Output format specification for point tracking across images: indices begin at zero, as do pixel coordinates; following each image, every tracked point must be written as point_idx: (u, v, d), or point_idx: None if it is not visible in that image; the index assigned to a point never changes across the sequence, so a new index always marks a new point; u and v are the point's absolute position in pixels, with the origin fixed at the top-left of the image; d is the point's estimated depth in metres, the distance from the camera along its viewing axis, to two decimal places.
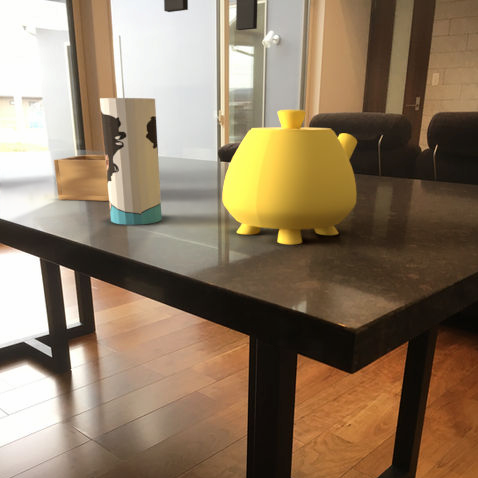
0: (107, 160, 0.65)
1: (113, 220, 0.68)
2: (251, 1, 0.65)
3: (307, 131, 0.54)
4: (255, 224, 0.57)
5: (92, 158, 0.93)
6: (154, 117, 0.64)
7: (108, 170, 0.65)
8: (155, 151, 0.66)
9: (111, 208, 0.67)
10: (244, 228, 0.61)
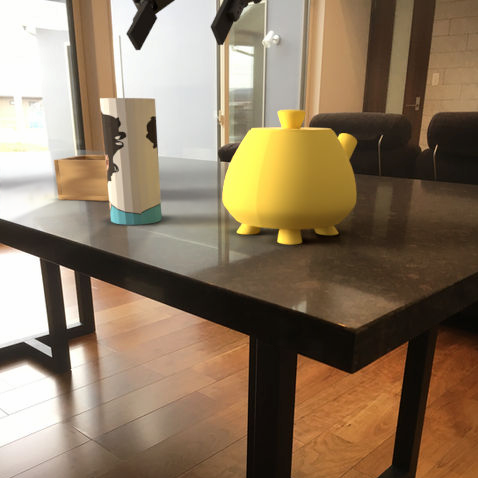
0: (107, 160, 0.65)
1: (113, 220, 0.68)
2: (146, 32, 0.74)
3: (307, 131, 0.54)
4: (255, 224, 0.57)
5: (92, 158, 0.93)
6: (154, 117, 0.64)
7: (108, 170, 0.65)
8: (155, 151, 0.66)
9: (111, 208, 0.67)
10: (244, 228, 0.61)
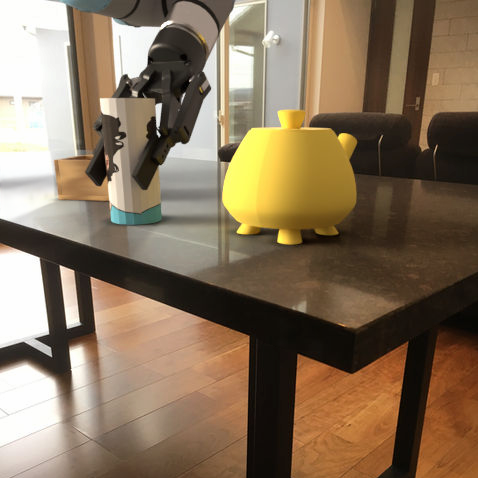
0: (107, 160, 0.65)
1: (113, 220, 0.68)
2: None
3: (307, 131, 0.54)
4: (255, 224, 0.57)
5: None
6: (154, 117, 0.64)
7: (108, 170, 0.65)
8: None
9: (111, 208, 0.67)
10: (244, 228, 0.61)
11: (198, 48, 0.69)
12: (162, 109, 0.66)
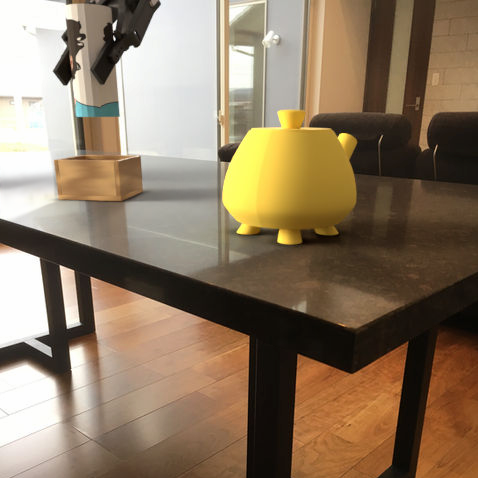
0: (71, 60, 0.78)
1: (77, 114, 0.80)
2: None
3: (307, 131, 0.54)
4: (255, 224, 0.57)
5: (92, 158, 0.93)
6: (110, 24, 0.77)
7: (72, 69, 0.78)
8: None
9: (76, 104, 0.80)
10: (244, 228, 0.61)
11: None
12: (118, 19, 0.78)
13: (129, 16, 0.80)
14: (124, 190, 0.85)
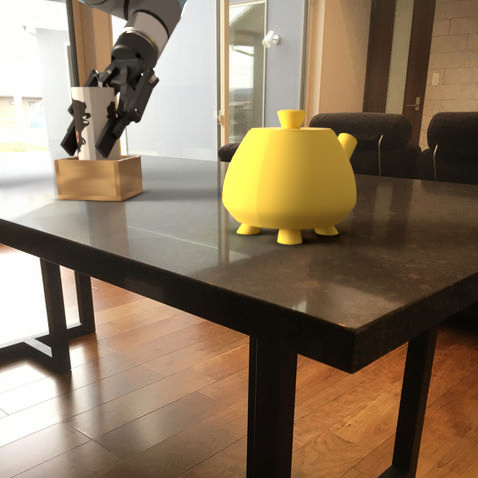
0: (77, 135, 0.84)
1: None
2: None
3: (307, 131, 0.54)
4: (255, 224, 0.57)
5: None
6: (113, 102, 0.84)
7: (78, 143, 0.85)
8: None
9: None
10: (244, 228, 0.61)
11: (150, 49, 0.89)
12: (120, 96, 0.85)
13: (130, 92, 0.87)
14: (124, 190, 0.85)
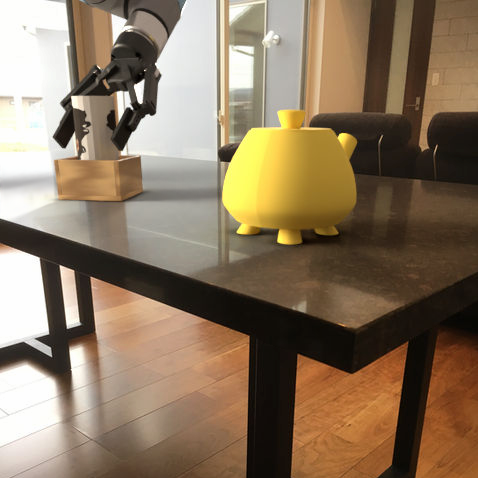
0: (77, 143, 0.85)
1: None
2: (71, 133, 0.89)
3: (307, 131, 0.54)
4: (255, 224, 0.57)
5: None
6: (113, 110, 0.84)
7: (78, 151, 0.85)
8: None
9: None
10: (244, 228, 0.61)
11: (149, 48, 0.89)
12: (129, 92, 0.85)
13: (136, 88, 0.86)
14: (124, 190, 0.85)
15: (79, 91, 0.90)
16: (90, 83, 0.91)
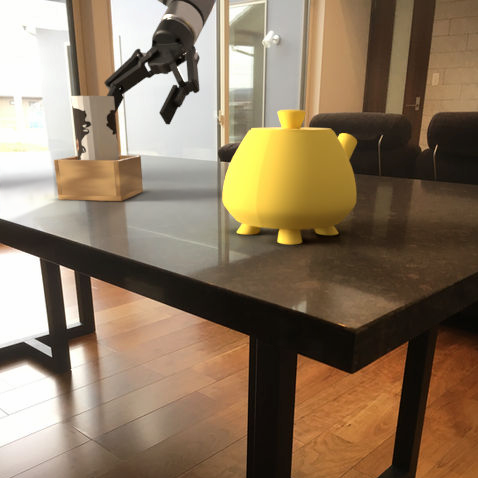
0: (77, 143, 0.85)
1: None
2: (115, 110, 0.98)
3: (307, 131, 0.54)
4: (255, 224, 0.57)
5: None
6: (113, 110, 0.84)
7: (78, 151, 0.85)
8: (114, 136, 0.86)
9: None
10: (244, 228, 0.61)
11: (188, 34, 0.97)
12: (173, 72, 0.93)
13: None
14: (124, 190, 0.85)
15: (122, 72, 0.99)
16: (132, 65, 1.00)
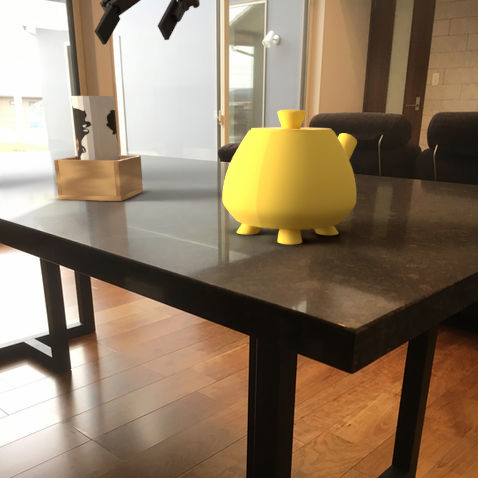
0: (77, 143, 0.85)
1: None
2: (111, 30, 0.94)
3: (307, 131, 0.54)
4: (255, 224, 0.57)
5: None
6: (113, 110, 0.84)
7: (78, 151, 0.85)
8: (114, 136, 0.86)
9: None
10: (244, 228, 0.61)
11: None
12: None
13: None
14: (124, 190, 0.85)
15: None
16: None
